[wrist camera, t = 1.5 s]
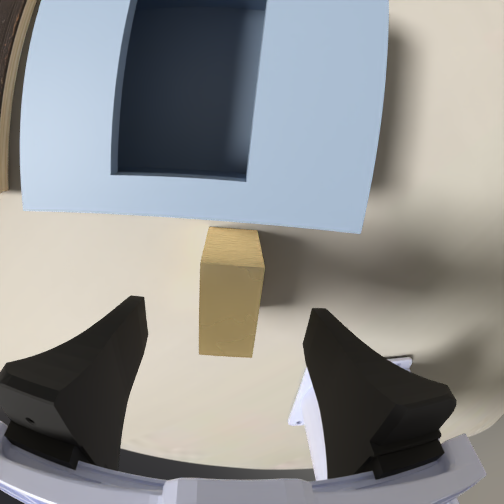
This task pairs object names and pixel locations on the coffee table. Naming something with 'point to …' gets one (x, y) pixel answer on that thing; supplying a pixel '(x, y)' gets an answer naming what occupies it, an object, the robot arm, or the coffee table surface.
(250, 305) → the tan wooden block
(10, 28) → the hardcover book
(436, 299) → the coffee table surface
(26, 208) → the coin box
